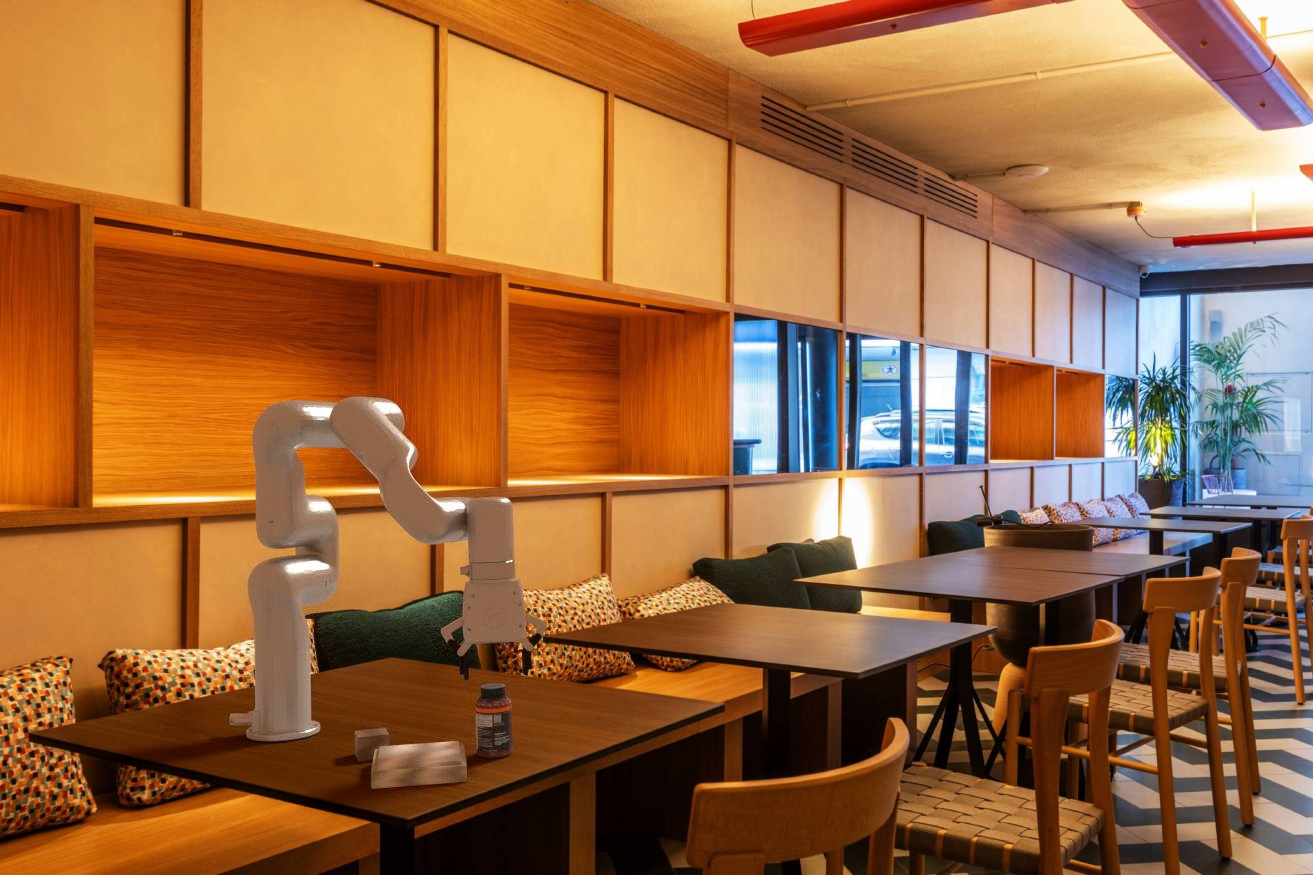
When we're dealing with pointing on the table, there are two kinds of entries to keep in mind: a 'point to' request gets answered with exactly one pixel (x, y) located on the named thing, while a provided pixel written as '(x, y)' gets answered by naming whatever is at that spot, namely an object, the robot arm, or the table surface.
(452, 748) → the stand
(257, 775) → the table surface
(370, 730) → the beige block
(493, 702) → the supplement bottle
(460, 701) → the table surface
